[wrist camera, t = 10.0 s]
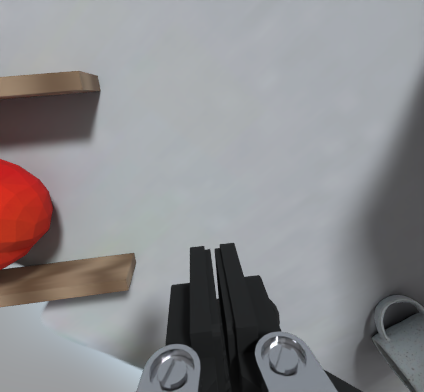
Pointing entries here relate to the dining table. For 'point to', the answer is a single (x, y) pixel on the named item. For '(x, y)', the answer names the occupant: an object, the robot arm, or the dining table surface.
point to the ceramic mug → (402, 343)
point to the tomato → (21, 212)
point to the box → (70, 270)
